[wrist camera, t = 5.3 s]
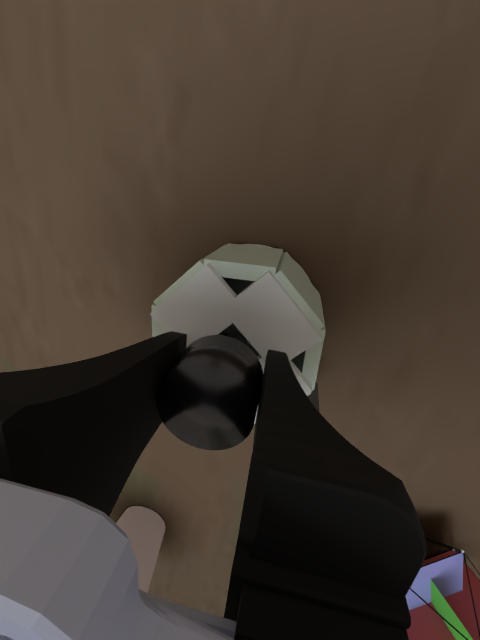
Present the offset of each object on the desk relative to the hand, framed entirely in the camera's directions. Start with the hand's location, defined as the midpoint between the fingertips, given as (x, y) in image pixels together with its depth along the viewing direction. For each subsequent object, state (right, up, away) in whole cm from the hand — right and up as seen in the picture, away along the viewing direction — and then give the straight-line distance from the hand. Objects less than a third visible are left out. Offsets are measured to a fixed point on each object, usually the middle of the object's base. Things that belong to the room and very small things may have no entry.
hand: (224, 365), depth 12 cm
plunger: (+1, +2, +5) cm, 5 cm away
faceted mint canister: (+1, +2, +6) cm, 6 cm away
